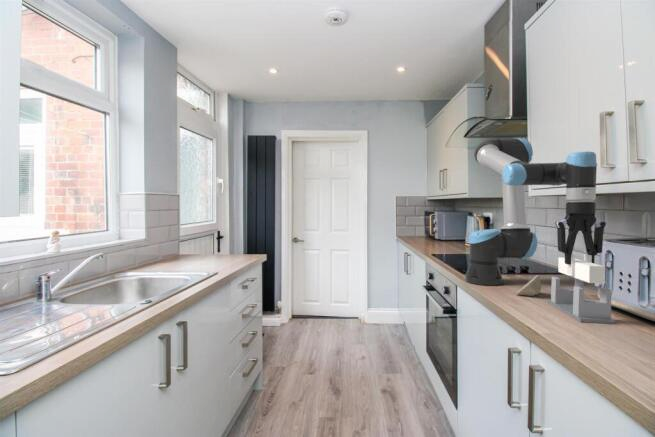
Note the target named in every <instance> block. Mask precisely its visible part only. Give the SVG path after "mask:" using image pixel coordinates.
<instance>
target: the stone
mask: <svg viewBox="0 0 655 437" xmlns="http://www.w3.org/2000/svg"><path fill="white" fill-rule="evenodd" d="M541 291H542V282H541V277H540V275H538V274H537V275H535V276H534V277H533V278H531V279H530V280H529V281H528V282H527V283H526V284H525V285H524V286H522V287H521V288H520V289H519V290H518V291H516V293H515V295H516V296H525V297H527V296H528V297H535V296H537V295H538V294H539V293H541Z"/></svg>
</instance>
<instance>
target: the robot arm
mask: <svg viewBox="0 0 655 437" xmlns="http://www.w3.org/2000/svg"><path fill="white" fill-rule="evenodd" d="M473 152H474V153H473V155H474V156H473V157H474V159H475V161H476V163H478V164H479V165H480V166H482V167H488V168H490V169H492V170H493V171H495V172H497V173H498V174H500V175H501V182H502V183H501V185H502V206H503V207H502V209H503V211H502V212H503V225H502V226H501V227H500V230H498V229H497V228H495V229H494V228H490V229H479V230H474V231H472V232H471V233H470V234H469V235H470V236H469V242H468V243H469V265H468V267H467V271H466V273H465V275H464V276H465V277H464V280H465V282H467V283H469V284H473V285H479V286H500V285H502V284H503V280H504V279H503V276H502V273H501V270H500V266H499V260H500V259H504V260H505V259H508V260H509V259H518V260H522V259H529V258H531V257H533V255H534V254H535V253H536V251H537V248H538V238H537V236H536V233H534V232H532V231H531V227H530V226H529V225H527V218H526V216H527V214H526V199H525V197H526V196H525V186H555V187H557V186H562V185H565V187H566V189H565V190H566V191H565V200H566V201H567V202H566V203H565V217H564V219H563V220H561V221H558V220H557V221H555V222H554V224H555V227H556V229H557V251H558V252H560V253H563V254H564V257H565V264H568V265H567V274H569V275H573V276H574V274H575V259H576V256H575V254H573V250H574V247H575V244H576V243H575V242H576V238H577V235H578V234H579V232H580V231H581V234H582V237H583V240H584V242H583V243H584V245H585V250H586V253H583V261H586V262H590V263H594V264H595V256H597V255H598V254H601V253H603V242H604V230H605V227H606V225H607V222H606V221H601V220H599V219H597V217H596V216H595V215H596V208H597V207H596V202H594V201H596V199H597V197H596V196H597V195H596V193H597V167H598V163H597V154H596V152H594V151H576V152H571V153H568V154H567V156H566V160H565V161H564V162H548V163H547V162H541V163H540V162H538V163H534V162H533V163H531V161H532V160H533V158H532V157H533V156H534V155H533V154H534V152H533V146H532V144H531V142H530V141H529V140H528V139H526V138H521V137H520V138H519V137H511V138H489V139H485V140H483V141H481V142H480V143H479V144H478V145H477V146H476V148H474V151H473ZM566 226H568V231H567V232H568V234H567V236H566ZM593 226H594V228H593V229H594V230H593V231H594V233H593V231H592V227H593ZM569 275H568V276H569Z"/></svg>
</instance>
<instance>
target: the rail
mask: <svg viewBox="0 0 655 437" xmlns="http://www.w3.org/2000/svg"><path fill="white" fill-rule="evenodd" d="M557 258H558V259H557V260H558V262H557V263H558V264H557V265H558V269H557V270H558V271H557V272H559V273H561V274H563V275H567V276H569V277H571V278H573V279H575V278H577V279H580V280H582V281H584V283H589V284H605V283H606V265H603V264H602V265H601V264H597V263H595V262H594V263H590V262H586V261H584V259H583V260H582V259H579V258H575V274H574V276H573V275H569V274H567V265H568V264H565V256H563V257H562V256H561V257H557Z"/></svg>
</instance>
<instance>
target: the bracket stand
mask: <svg viewBox="0 0 655 437" xmlns="http://www.w3.org/2000/svg"><path fill="white" fill-rule="evenodd" d="M560 281H561V278H560V277H557V276H551V288H550V289H551V290H550V291H551V292H550V299H547V303H548V304H551V306H553V307H554V308H556V309H558V310H560V311H561V312H563V313H564V314H566V315H568V316H570V317H571V318H573V319H574V320H576V321H578V322H580V323H589V324H590V323H591V324H592V323H595V324H612V325H613V324H614V325H615V324H616V320H615V319H614V318H612V289H610V288H607V287H602V286H600V287H599V291H600V292H599V299H598V300H597V299H596V300H595V299H584V294H585V293H584V286H585V285H584V284H585V281H582V280H580V279H577V278H574V286H573V288H564V287H563V288H561V286H560V284H561V282H560Z"/></svg>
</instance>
